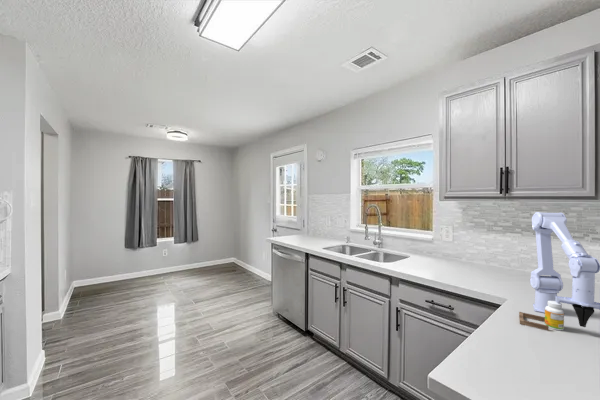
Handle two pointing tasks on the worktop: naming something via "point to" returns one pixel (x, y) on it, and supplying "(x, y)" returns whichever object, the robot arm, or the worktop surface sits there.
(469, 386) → the worktop surface
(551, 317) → the supplement bottle
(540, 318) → the walnut stop
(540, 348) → the worktop surface
